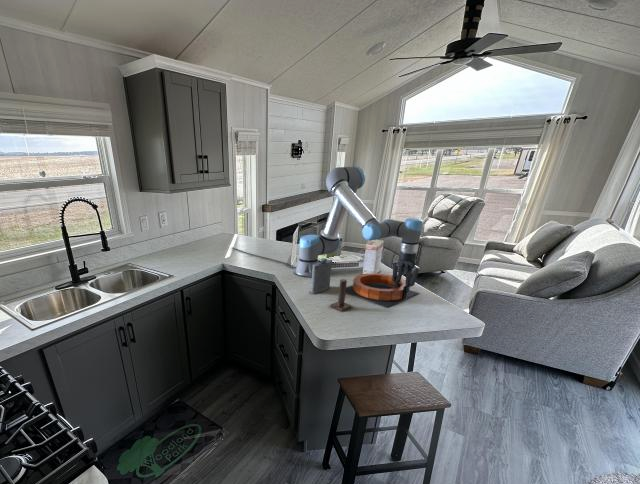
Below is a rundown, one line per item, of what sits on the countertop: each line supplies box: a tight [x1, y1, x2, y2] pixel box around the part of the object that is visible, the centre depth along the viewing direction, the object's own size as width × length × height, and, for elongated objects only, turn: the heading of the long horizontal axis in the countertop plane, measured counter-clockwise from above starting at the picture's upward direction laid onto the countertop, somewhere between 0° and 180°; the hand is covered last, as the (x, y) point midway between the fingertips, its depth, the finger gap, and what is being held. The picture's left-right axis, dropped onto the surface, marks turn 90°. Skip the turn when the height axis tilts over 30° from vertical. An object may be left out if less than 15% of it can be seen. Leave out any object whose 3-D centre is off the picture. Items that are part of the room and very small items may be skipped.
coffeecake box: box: [362, 239, 385, 274], centre depth 199 cm, size 15×7×20 cm, turn 145°
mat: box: [345, 283, 419, 308], centre depth 176 cm, size 28×28×1 cm
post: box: [330, 278, 352, 312], centre depth 157 cm, size 7×7×14 cm
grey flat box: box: [310, 258, 333, 295], centre depth 177 cm, size 4×14×18 cm, turn 129°
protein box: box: [318, 237, 343, 258], centre depth 227 cm, size 10×16×16 cm
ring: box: [352, 272, 408, 301], centre depth 174 cm, size 27×27×5 cm
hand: (400, 296), depth 166 cm, fingers closed on ring, 3 cm apart
